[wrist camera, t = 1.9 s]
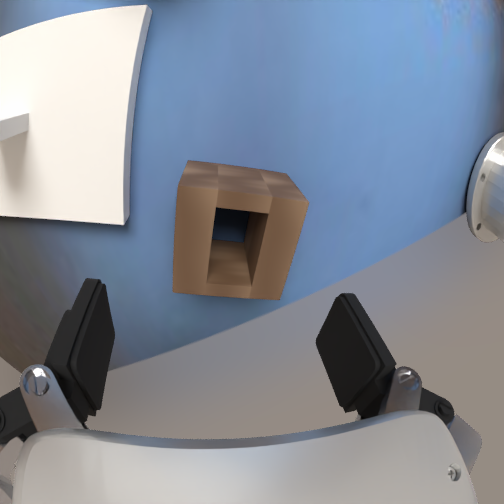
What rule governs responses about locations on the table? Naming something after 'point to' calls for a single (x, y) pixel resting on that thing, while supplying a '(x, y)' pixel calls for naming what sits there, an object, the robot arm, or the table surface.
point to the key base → (70, 115)
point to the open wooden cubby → (256, 237)
